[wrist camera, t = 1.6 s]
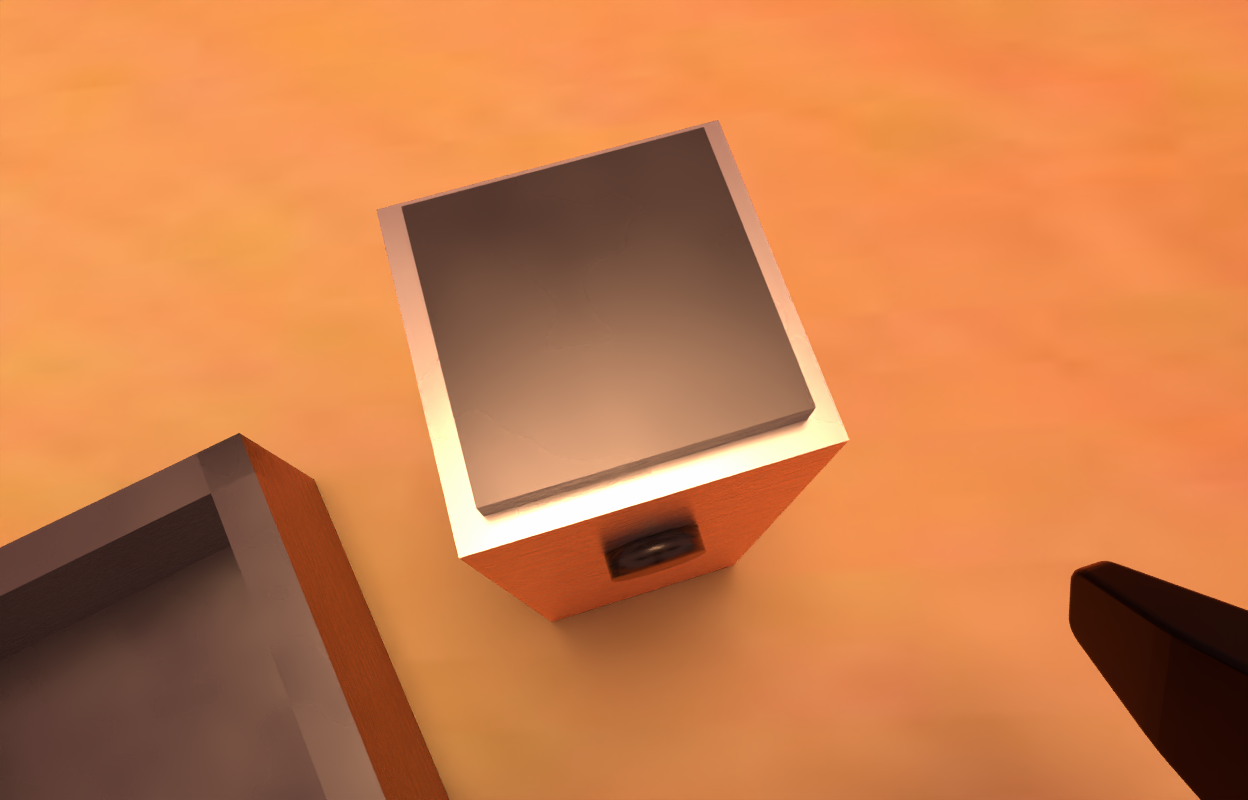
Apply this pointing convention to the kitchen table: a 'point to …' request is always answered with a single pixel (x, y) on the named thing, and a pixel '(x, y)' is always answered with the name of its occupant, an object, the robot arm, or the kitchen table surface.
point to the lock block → (608, 369)
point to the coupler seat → (199, 649)
